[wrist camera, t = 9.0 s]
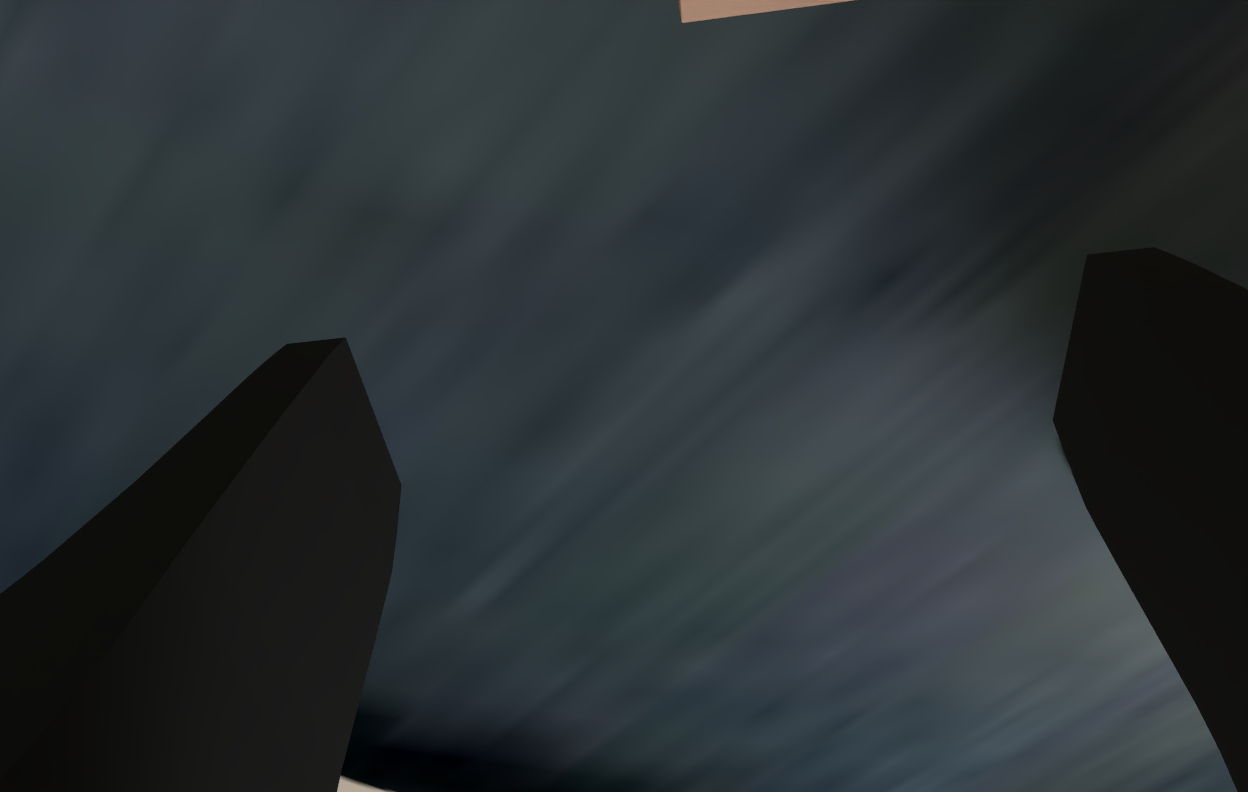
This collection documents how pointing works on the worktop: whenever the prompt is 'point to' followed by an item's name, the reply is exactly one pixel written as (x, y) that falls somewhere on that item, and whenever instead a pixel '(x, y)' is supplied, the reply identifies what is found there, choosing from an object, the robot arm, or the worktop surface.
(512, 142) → the worktop surface
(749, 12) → the tan flat notched board
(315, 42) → the worktop surface
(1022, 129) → the worktop surface
